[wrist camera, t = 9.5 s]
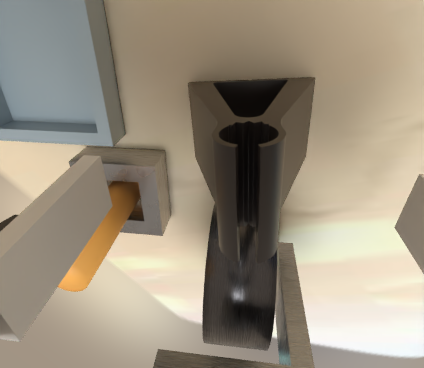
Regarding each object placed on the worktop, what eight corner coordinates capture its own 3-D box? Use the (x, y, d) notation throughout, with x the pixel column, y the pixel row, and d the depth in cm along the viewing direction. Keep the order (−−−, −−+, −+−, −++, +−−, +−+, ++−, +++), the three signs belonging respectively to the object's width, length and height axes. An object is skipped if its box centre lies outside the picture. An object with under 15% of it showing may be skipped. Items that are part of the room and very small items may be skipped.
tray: (-75, -95, 17) (-120, -110, 15) (86, -101, 16) (61, -118, 14) (12, 128, 25) (-11, 139, 23) (125, 134, 24) (113, 146, 22)
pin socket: (87, 146, 25) (68, 161, 22) (164, 150, 24) (154, 166, 22) (103, 210, 29) (88, 229, 26) (170, 215, 28) (162, 235, 25)
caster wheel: (199, 173, 25) (144, 345, 12) (293, 178, 24) (341, 370, 11) (201, 261, 31) (165, 441, 18) (277, 268, 30) (297, 462, 17)
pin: (114, 168, 26) (37, 257, 16) (144, 170, 26) (82, 262, 16) (119, 194, 27) (51, 289, 18) (147, 196, 27) (93, 293, 18)
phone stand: (195, 154, 24) (155, 259, 14) (189, 81, 21) (130, 147, 11) (304, 154, 23) (347, 268, 13) (314, 77, 20) (380, 146, 10)
